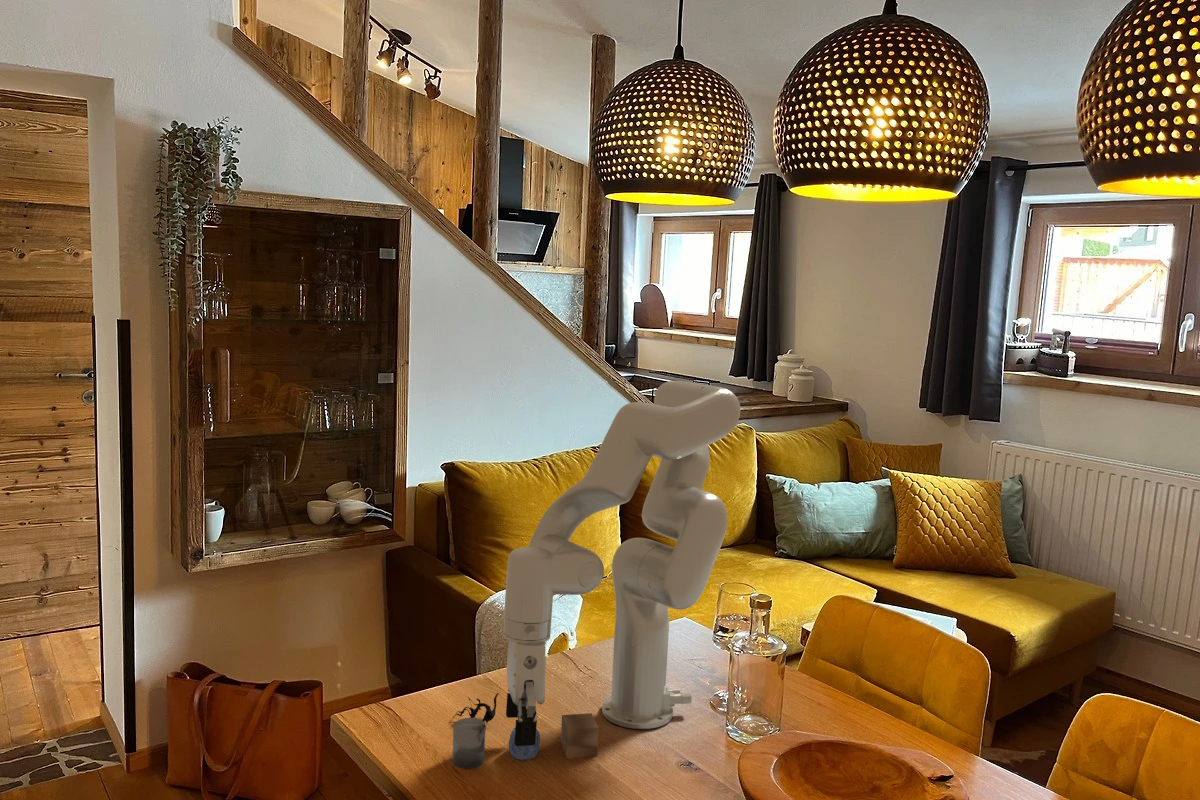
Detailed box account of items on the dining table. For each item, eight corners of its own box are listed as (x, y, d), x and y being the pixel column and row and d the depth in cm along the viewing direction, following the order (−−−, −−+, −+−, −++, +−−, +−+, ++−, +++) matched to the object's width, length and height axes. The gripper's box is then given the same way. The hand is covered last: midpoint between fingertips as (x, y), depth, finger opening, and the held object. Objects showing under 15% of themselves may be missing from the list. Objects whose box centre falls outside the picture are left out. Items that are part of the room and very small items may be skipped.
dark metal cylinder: (482, 752, 151) (483, 716, 150) (486, 768, 146) (487, 731, 145) (451, 754, 150) (452, 718, 149) (453, 770, 145) (454, 733, 144)
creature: (446, 738, 157) (491, 734, 156) (440, 707, 157) (485, 703, 155) (462, 717, 165) (505, 713, 163) (456, 687, 165) (499, 683, 163)
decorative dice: (517, 746, 153) (517, 723, 153) (540, 750, 152) (540, 727, 152) (507, 757, 150) (508, 733, 149) (531, 762, 148) (532, 738, 148)
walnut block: (590, 741, 156) (591, 713, 155) (597, 756, 151) (598, 727, 151) (560, 743, 155) (561, 715, 154) (566, 759, 150) (567, 729, 149)
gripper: (560, 646, 141) (552, 755, 142) (541, 608, 157) (534, 706, 159) (511, 647, 139) (503, 757, 141) (496, 608, 156) (490, 707, 157)
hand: (520, 730), depth 150 cm, fingers open, 9 cm apart
